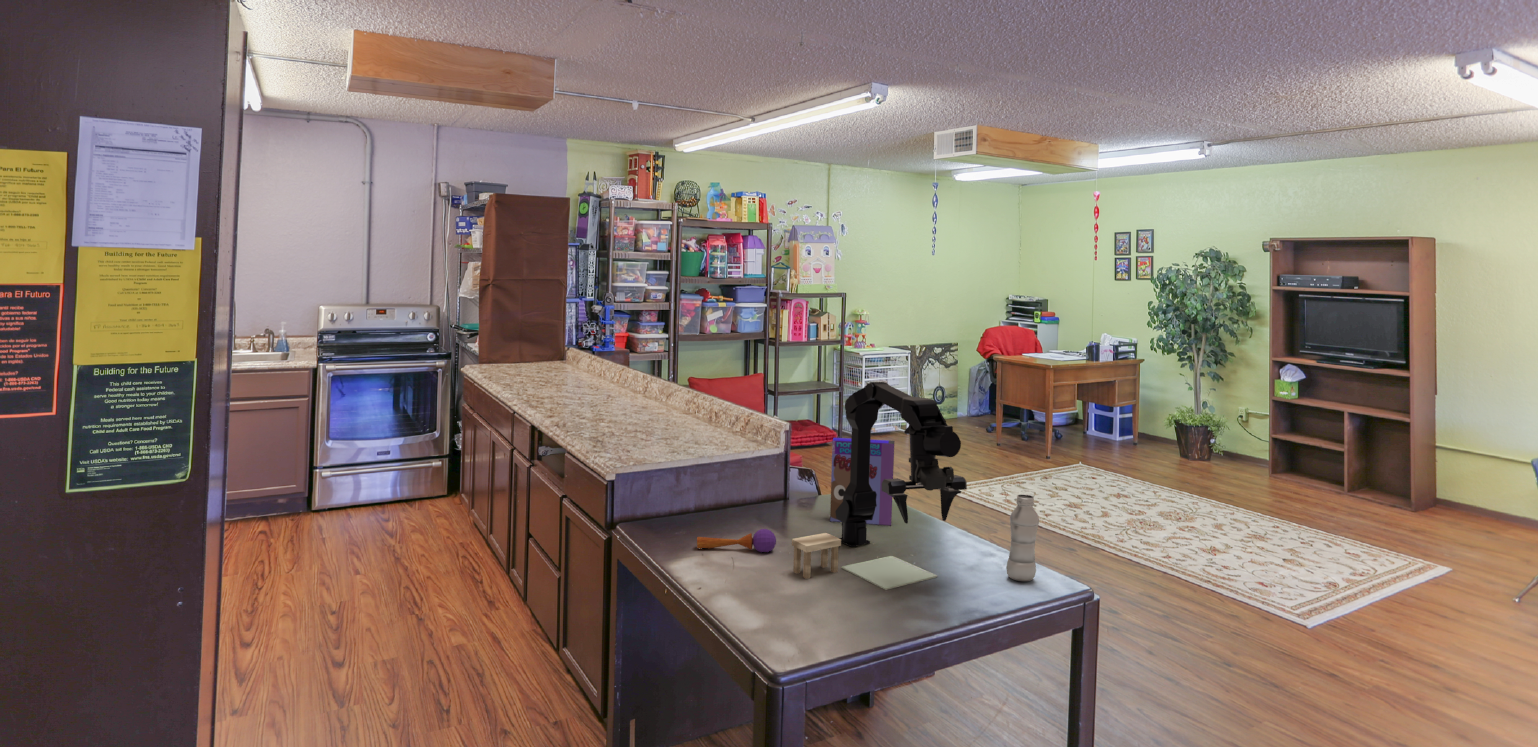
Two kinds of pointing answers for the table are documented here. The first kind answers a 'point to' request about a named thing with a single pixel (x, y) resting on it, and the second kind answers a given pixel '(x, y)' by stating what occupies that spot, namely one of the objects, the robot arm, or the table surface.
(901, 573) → the mat
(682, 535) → the table surface
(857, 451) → the robot arm
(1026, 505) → the plastic bottle
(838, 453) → the cereal box
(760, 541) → the kendama
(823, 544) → the beige wooden bench
